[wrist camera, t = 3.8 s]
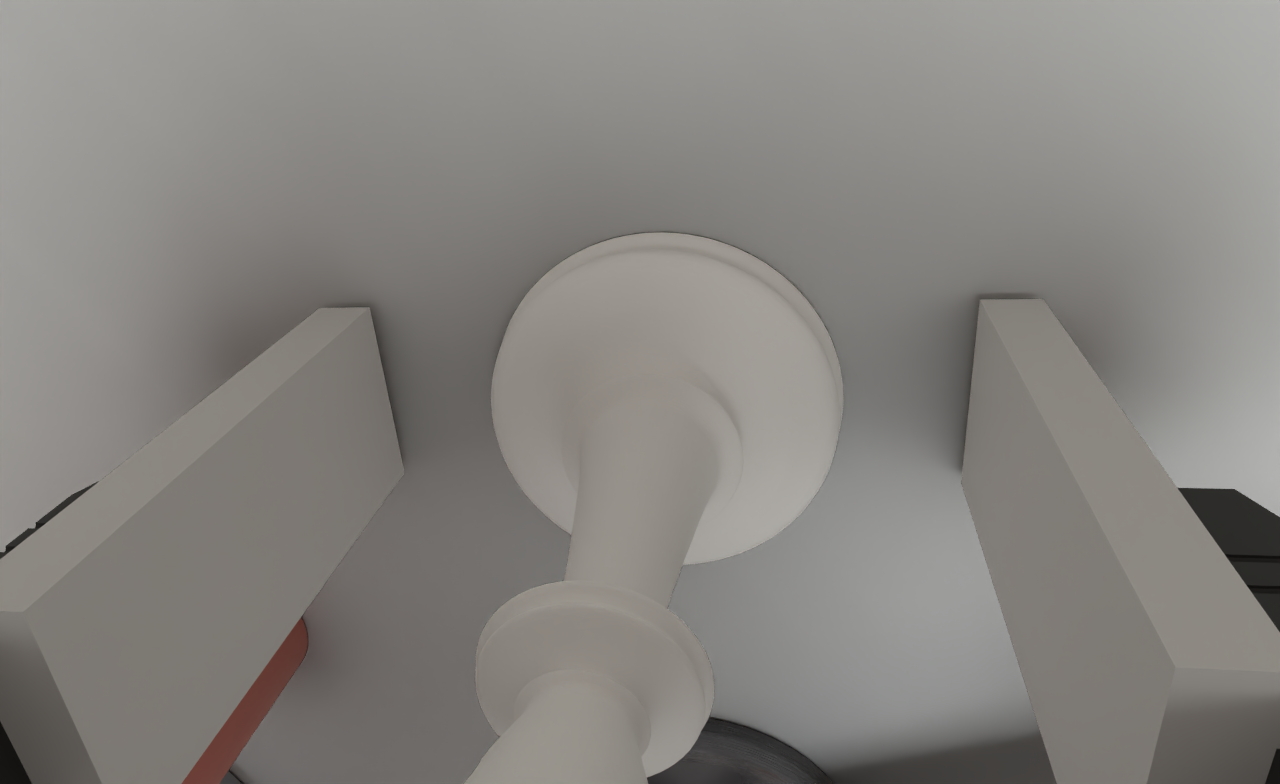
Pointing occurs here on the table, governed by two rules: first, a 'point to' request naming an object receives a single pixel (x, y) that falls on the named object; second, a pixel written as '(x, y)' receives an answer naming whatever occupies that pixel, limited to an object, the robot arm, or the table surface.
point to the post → (250, 710)
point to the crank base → (739, 760)
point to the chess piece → (642, 489)
